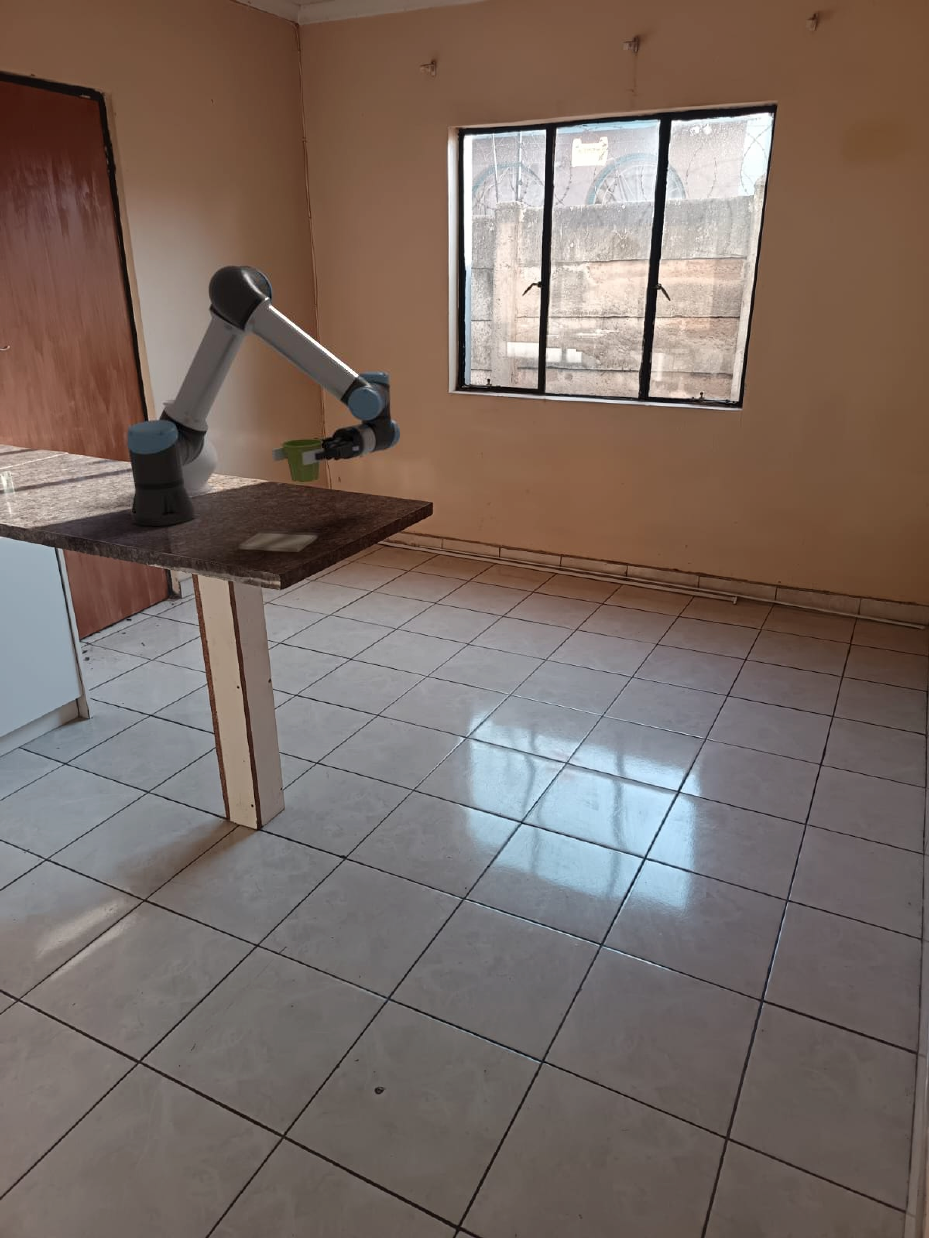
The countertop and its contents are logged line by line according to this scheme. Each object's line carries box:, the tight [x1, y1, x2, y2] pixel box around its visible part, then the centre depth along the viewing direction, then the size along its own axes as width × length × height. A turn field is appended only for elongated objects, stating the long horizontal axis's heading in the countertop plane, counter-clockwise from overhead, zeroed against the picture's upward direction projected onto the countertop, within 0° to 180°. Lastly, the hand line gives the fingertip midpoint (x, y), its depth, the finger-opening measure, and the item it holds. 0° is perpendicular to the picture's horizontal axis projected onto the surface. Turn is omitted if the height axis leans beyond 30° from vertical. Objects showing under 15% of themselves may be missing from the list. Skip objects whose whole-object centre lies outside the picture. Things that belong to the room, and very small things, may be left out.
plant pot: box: [280, 438, 323, 483], centre depth 199 cm, size 9×9×9 cm
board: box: [238, 530, 320, 553], centre depth 194 cm, size 14×12×1 cm
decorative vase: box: [162, 399, 219, 497], centre depth 242 cm, size 18×18×25 cm
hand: (288, 457), depth 195 cm, fingers closed on plant pot, 8 cm apart
